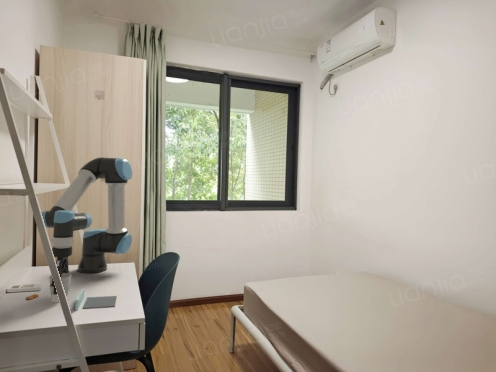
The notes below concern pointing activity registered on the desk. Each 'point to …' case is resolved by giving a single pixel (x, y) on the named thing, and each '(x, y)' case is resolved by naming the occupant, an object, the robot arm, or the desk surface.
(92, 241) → the robot arm
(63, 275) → the cup
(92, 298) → the mat
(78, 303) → the wall
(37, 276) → the desk surface
